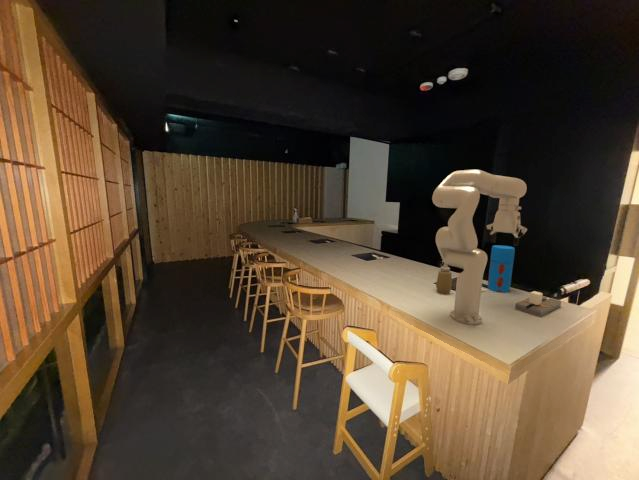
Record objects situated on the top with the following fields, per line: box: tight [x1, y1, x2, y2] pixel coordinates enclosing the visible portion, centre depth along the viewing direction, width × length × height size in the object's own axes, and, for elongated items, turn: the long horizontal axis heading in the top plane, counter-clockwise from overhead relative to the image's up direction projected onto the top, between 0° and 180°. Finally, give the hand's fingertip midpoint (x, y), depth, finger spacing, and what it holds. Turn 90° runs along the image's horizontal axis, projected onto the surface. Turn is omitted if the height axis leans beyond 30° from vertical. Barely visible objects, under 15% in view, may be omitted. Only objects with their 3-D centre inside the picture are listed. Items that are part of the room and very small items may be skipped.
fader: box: [529, 290, 544, 306], centre depth 127 cm, size 4×3×6 cm
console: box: [514, 296, 562, 318], centre depth 129 cm, size 22×10×3 cm, turn 121°
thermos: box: [487, 244, 516, 294], centre depth 153 cm, size 11×11×25 cm
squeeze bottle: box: [435, 263, 453, 295], centre depth 148 cm, size 8×8×18 cm
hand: (503, 244), depth 130 cm, fingers open, 9 cm apart
